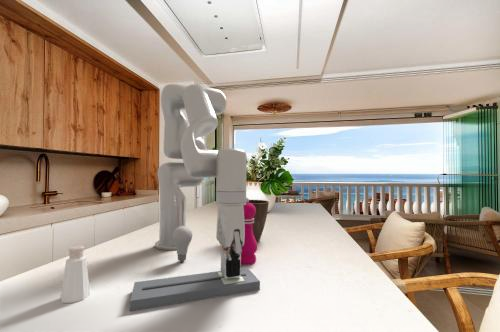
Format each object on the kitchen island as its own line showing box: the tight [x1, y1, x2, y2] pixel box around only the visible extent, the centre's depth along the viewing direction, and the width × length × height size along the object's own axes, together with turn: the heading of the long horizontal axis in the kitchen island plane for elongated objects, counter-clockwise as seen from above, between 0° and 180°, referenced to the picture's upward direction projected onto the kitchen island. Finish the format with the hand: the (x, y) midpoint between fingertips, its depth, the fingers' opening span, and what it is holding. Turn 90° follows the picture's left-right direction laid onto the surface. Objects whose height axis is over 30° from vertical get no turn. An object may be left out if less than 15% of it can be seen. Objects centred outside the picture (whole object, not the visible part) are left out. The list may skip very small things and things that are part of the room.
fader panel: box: [129, 267, 261, 312], centre depth 58 cm, size 9×28×2 cm, turn 110°
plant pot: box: [248, 199, 270, 243], centre depth 103 cm, size 15×15×16 cm
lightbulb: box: [172, 226, 193, 263], centre depth 77 cm, size 6×6×11 cm
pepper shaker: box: [59, 245, 91, 304], centre depth 55 cm, size 5×5×11 cm
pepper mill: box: [241, 197, 258, 266], centre depth 78 cm, size 7×7×20 cm
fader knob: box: [220, 245, 242, 279], centre depth 61 cm, size 4×4×7 cm
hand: (230, 271), depth 61 cm, fingers closed on fader knob, 4 cm apart
